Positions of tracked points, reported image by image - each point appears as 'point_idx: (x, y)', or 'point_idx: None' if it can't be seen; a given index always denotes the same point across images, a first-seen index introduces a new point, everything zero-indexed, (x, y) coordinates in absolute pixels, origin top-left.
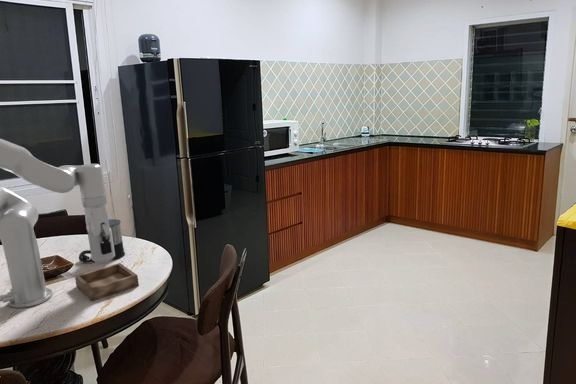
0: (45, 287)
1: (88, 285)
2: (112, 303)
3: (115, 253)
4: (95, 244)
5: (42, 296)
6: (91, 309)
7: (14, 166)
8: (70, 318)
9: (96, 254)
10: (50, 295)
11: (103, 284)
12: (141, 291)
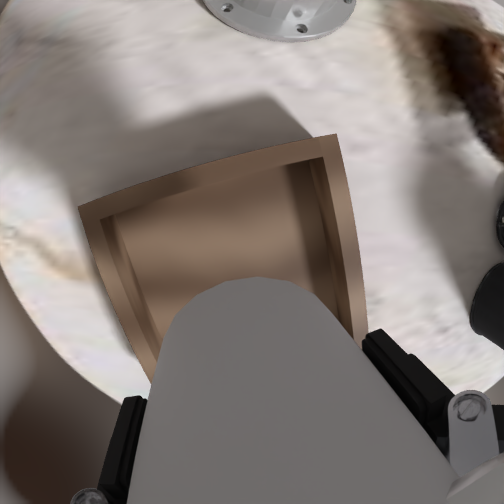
0: (277, 4)
1: (142, 199)
2: (53, 278)
3: (485, 318)
4: (143, 444)
5: (238, 3)
6: (37, 201)
7: None
8: (12, 131)
9: (166, 353)
10: (248, 31)
11: (117, 275)
12: (116, 379)
